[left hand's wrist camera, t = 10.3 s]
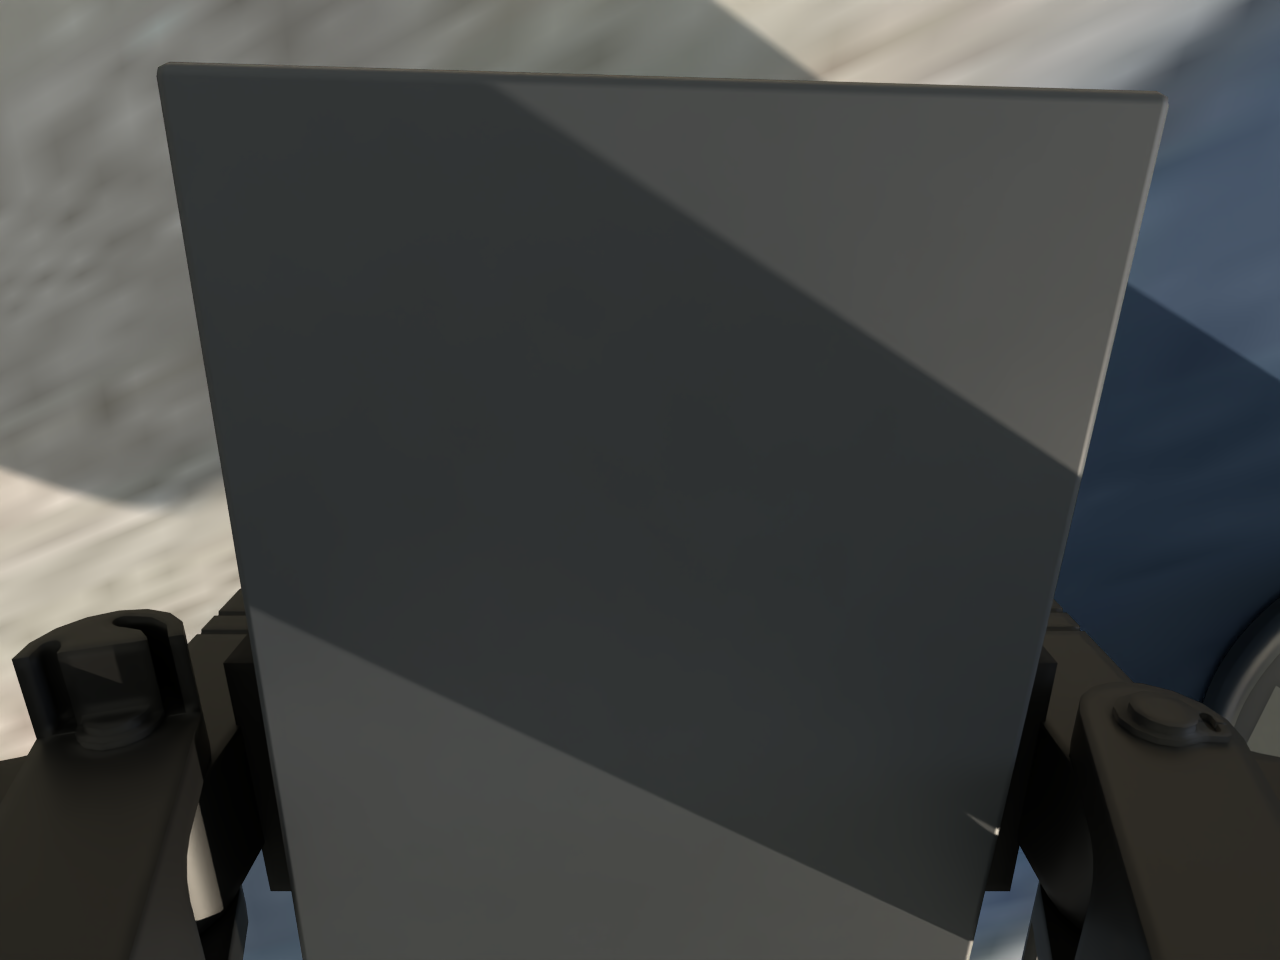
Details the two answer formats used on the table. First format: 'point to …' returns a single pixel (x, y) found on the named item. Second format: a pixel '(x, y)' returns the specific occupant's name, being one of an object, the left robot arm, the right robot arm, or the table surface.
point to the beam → (648, 487)
